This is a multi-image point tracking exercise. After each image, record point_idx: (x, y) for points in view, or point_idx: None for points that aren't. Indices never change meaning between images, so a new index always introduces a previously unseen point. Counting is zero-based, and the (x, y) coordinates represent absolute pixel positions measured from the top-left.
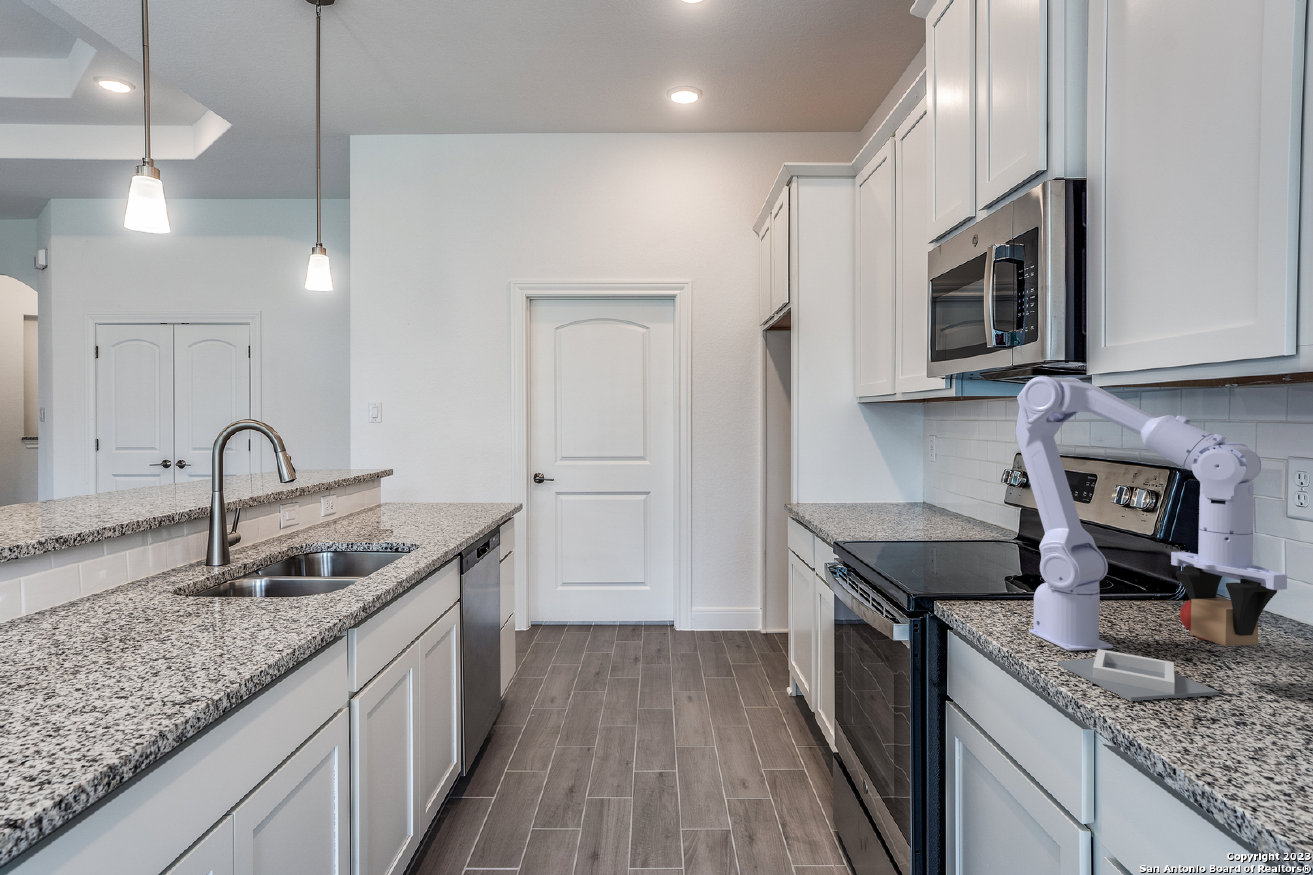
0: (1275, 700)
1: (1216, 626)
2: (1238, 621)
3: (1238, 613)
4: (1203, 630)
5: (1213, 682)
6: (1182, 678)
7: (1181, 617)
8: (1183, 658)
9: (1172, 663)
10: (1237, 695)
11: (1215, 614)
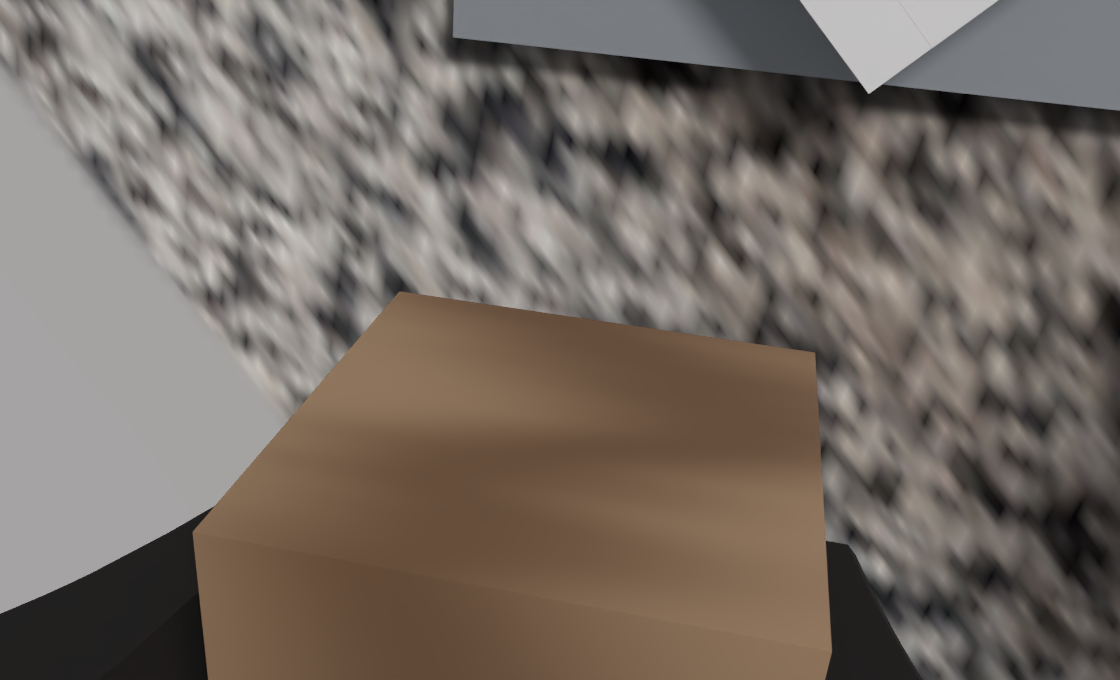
0: (343, 328)
1: (449, 397)
2: (200, 515)
3: (118, 569)
4: (638, 368)
5: (672, 260)
6: (734, 13)
7: None
8: (1108, 535)
9: (848, 47)
10: (447, 178)
11: (413, 485)
